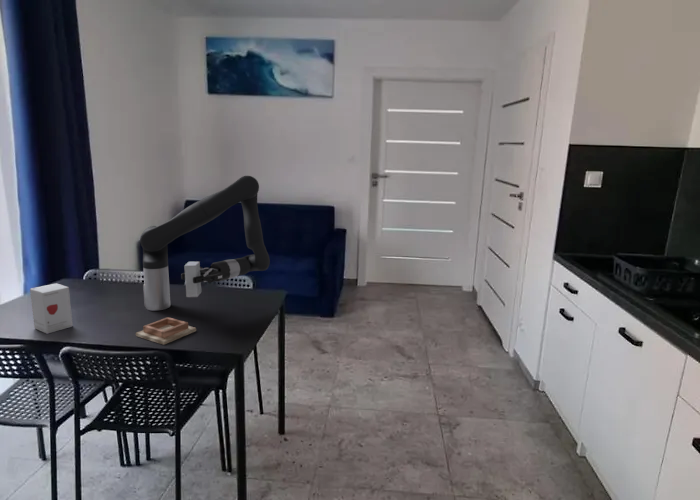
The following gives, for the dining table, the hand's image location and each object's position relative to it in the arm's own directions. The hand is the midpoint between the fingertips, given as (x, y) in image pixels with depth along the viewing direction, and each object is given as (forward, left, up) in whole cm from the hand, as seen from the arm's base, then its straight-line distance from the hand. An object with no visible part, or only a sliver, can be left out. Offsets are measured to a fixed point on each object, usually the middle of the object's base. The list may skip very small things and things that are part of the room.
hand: (187, 278), depth 164 cm
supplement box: (-39, -27, -18) cm, 50 cm away
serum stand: (-1, -10, -18) cm, 20 cm away
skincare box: (0, +2, -7) cm, 7 cm away
